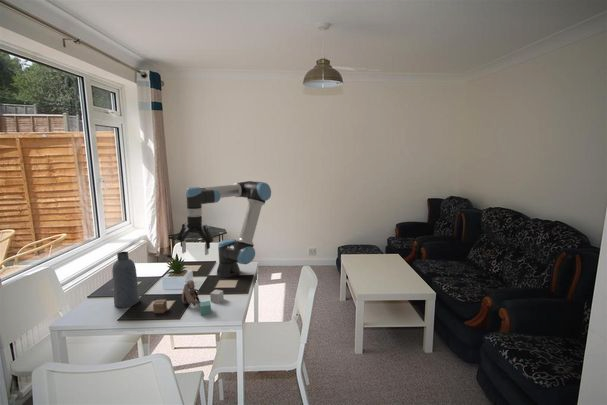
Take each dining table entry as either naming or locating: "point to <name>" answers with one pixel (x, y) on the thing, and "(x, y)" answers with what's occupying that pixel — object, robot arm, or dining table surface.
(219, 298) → the grey cube
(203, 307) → the teal cube
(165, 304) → the walnut cube
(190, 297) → the toy
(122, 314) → the dining table surface
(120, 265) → the vase
